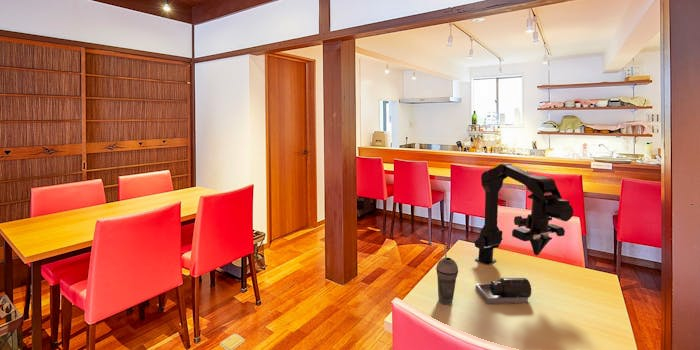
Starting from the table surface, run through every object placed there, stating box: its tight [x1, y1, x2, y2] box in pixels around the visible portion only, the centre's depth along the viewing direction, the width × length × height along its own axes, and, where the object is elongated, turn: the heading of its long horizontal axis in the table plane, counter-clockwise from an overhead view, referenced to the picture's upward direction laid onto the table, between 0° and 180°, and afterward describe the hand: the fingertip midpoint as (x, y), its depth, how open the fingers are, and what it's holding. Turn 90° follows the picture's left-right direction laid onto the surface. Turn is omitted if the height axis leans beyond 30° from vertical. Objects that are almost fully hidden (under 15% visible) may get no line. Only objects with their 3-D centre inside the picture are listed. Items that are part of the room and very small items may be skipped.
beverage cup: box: [435, 244, 459, 306], centre depth 119 cm, size 7×7×20 cm
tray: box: [475, 283, 529, 305], centre depth 124 cm, size 14×10×2 cm
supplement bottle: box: [489, 277, 532, 299], centre depth 122 cm, size 7×7×12 cm
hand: (536, 254), depth 127 cm, fingers closed
